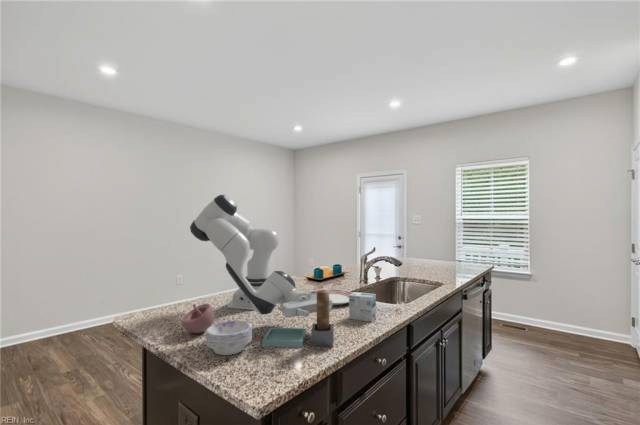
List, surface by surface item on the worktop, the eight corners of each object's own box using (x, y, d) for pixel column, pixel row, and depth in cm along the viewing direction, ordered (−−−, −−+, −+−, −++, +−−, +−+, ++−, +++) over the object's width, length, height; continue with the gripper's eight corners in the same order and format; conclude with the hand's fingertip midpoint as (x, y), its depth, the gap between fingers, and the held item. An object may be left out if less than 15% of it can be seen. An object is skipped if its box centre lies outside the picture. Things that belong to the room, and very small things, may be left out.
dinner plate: (357, 294, 180) (357, 289, 180) (356, 309, 153) (356, 302, 153) (310, 293, 184) (310, 287, 184) (301, 307, 156) (301, 301, 156)
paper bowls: (232, 337, 119) (232, 316, 119) (261, 347, 111) (261, 324, 111) (196, 352, 107) (196, 329, 107) (225, 364, 98) (225, 339, 98)
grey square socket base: (311, 348, 109) (311, 331, 109) (313, 339, 117) (313, 323, 117) (333, 348, 109) (333, 331, 109) (333, 340, 116) (333, 323, 116)
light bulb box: (376, 317, 140) (376, 293, 140) (372, 322, 134) (372, 297, 134) (353, 314, 145) (353, 291, 145) (348, 319, 139) (348, 294, 139)
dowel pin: (316, 344, 111) (316, 293, 111) (317, 339, 115) (317, 290, 115) (328, 345, 110) (328, 293, 110) (329, 339, 115) (329, 290, 115)
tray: (262, 347, 110) (262, 340, 110) (270, 334, 122) (270, 327, 122) (302, 348, 109) (302, 341, 109) (306, 335, 121) (305, 328, 121)
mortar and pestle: (178, 331, 126) (178, 302, 126) (208, 324, 133) (208, 297, 133) (186, 341, 117) (186, 310, 117) (218, 333, 124) (218, 304, 124)
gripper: (275, 299, 120) (293, 308, 108) (320, 291, 131) (340, 298, 120) (275, 315, 120) (293, 326, 108) (320, 306, 131) (340, 315, 120)
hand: (318, 311), depth 114 cm, fingers open, 8 cm apart
